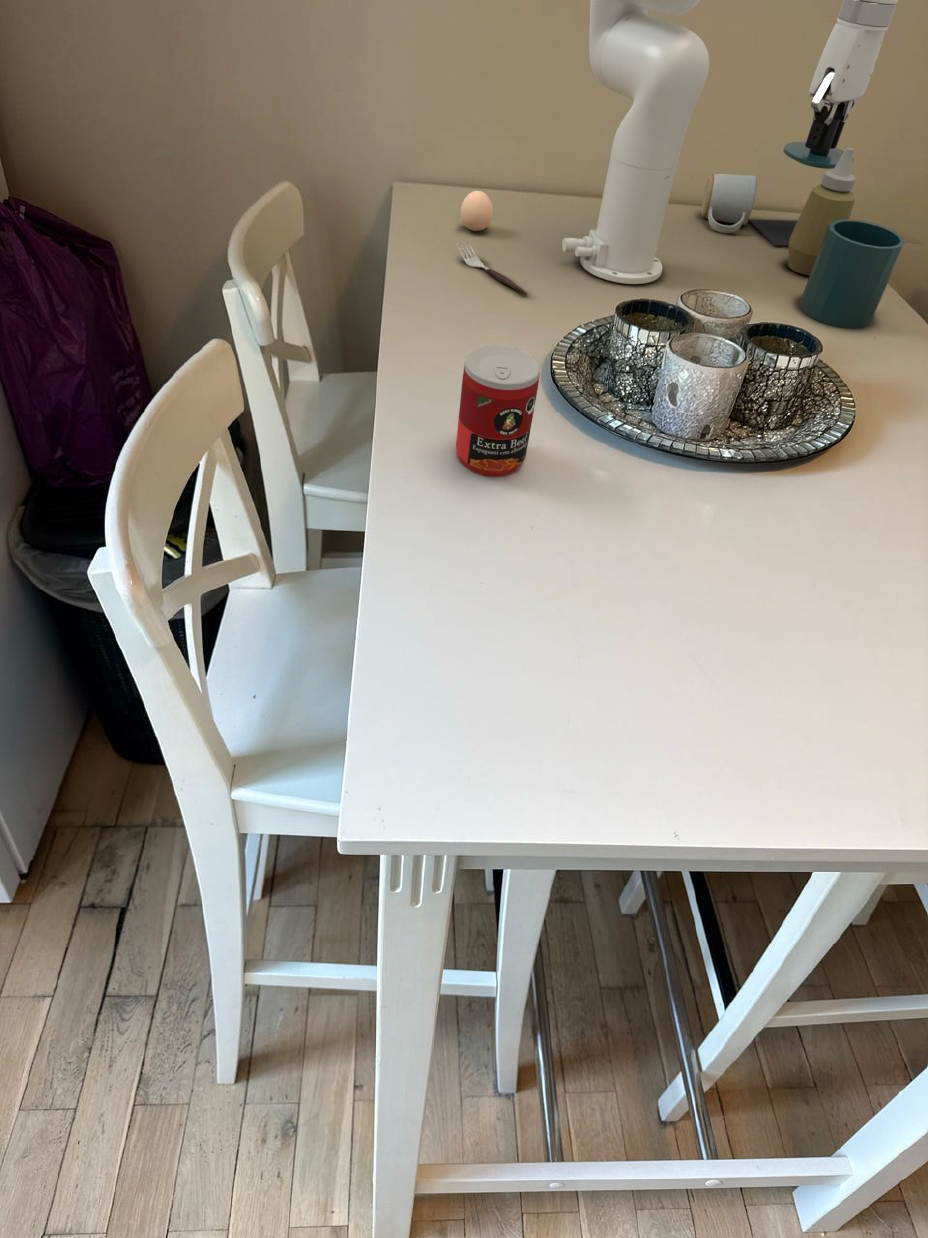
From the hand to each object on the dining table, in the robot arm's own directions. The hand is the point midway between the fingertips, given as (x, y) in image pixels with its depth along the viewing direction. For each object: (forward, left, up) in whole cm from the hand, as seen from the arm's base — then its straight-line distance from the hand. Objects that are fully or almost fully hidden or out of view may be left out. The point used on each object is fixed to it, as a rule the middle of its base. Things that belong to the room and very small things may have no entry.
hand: (820, 146), depth 143 cm
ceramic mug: (-11, +4, -14) cm, 18 cm away
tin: (-8, -30, -14) cm, 34 cm away
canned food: (-69, -64, -14) cm, 95 cm away
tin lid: (0, 0, -2) cm, 2 cm away
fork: (-58, -18, -14) cm, 62 cm away
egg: (-57, -1, -14) cm, 58 cm away
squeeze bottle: (-5, -15, -14) cm, 21 cm away
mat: (0, 0, -14) cm, 14 cm away
